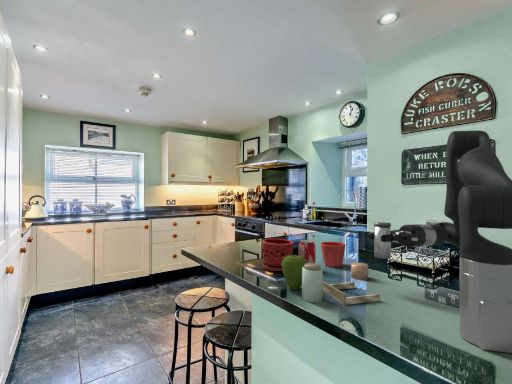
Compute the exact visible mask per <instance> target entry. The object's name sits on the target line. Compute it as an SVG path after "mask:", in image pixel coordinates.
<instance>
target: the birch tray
mask: <svg viewBox="0 0 512 384" xmlns="http://www.w3.org/2000/svg"><path fill="white" fill-rule="evenodd" d="M355 288H356V283H355V282H354V281H353V282H352V281H350V282H339V283H331V284H330V283H327V282H325V281H324V280H323V284H322V293H323V292H324V293H325V294H326V295H327V296H330V297H331V298H332V299H333V300H335V301H337V302H339V303H341V304H342V305H343V306H347V305H348V306H349V305H355V304H363V303H372V302H380V301H381V295H380V293H375V294H374V293H373V294H367V295H358V296H348V297H347V294H346V293H345V292H343V291H342V290H348V289H355ZM339 289H340V290H339Z"/></svg>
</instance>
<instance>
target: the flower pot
mask: <svg viewBox="0 0 512 384" xmlns="http://www.w3.org/2000/svg"><path fill="white" fill-rule="evenodd" d="M320 247H321V248H320V249H321V254H322V259H323V264H325V265H324V266H326V265H327V266H326V267H329V266H331V267H332V268H336V267H337V268H339V267H342V266H343V262H344V257H345V251H346V243H344V242H339V241H322V242H320ZM331 267H330V268H331Z"/></svg>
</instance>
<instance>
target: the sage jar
mask: <svg viewBox="0 0 512 384" xmlns="http://www.w3.org/2000/svg"><path fill="white" fill-rule="evenodd" d="M321 266H322V265H321V264H319V263H316V262H315V263H306V264H304V267H302V286H301V299H302V301H304V300H305V301H304V302H307V301H308V302H307V303H312V302H313V304H314V303H315V304H316V303H320V302H322V301H323V291H322V284H323V281H324V278H323V277H324V274H323V268H322V267H321Z"/></svg>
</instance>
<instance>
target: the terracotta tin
mask: <svg viewBox="0 0 512 384" xmlns="http://www.w3.org/2000/svg"><path fill="white" fill-rule="evenodd" d="M350 277H351V278H352V279H355V280H358V281H359V280H360V281H366V280H368V279H369V264H368V263H364V262H351V264H350Z"/></svg>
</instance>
